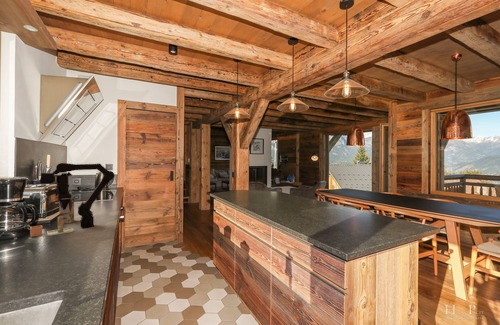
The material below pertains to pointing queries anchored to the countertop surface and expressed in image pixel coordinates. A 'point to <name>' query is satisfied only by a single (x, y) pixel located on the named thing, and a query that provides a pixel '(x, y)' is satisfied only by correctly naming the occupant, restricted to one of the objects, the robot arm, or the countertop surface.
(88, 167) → the robot arm
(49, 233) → the tray
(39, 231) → the orange open box
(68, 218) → the coffee box
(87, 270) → the countertop surface
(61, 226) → the pin
